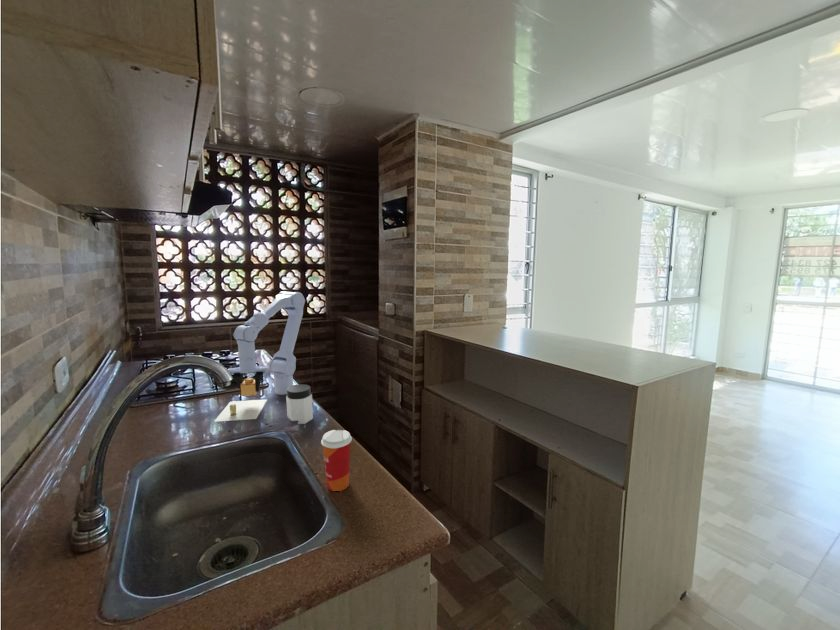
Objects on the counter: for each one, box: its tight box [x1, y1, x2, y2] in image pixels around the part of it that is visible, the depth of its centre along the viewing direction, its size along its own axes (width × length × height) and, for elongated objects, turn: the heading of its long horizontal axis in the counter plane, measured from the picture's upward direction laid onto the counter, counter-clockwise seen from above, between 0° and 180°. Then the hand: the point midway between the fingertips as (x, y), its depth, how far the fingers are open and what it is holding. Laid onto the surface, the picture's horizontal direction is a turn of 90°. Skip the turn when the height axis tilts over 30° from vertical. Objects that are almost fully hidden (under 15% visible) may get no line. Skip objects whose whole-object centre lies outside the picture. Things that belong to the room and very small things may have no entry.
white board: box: [213, 399, 268, 423], centre depth 141 cm, size 18×14×2 cm
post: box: [230, 404, 237, 416], centre depth 136 cm, size 2×2×4 cm
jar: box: [285, 383, 314, 425], centre depth 135 cm, size 9×8×12 cm
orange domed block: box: [240, 377, 258, 397], centre depth 144 cm, size 5×5×6 cm
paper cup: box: [320, 429, 353, 492], centre depth 97 cm, size 8×8×14 cm
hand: (250, 391), depth 144 cm, fingers closed on orange domed block, 5 cm apart
